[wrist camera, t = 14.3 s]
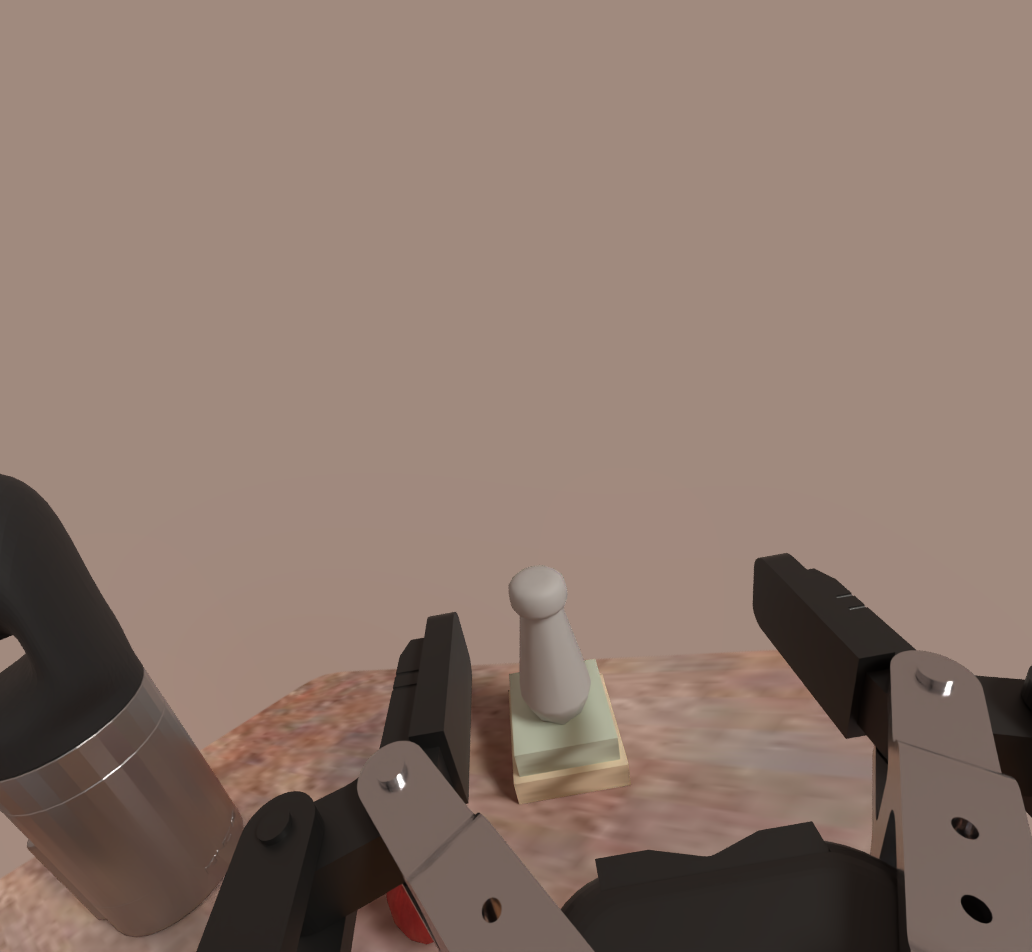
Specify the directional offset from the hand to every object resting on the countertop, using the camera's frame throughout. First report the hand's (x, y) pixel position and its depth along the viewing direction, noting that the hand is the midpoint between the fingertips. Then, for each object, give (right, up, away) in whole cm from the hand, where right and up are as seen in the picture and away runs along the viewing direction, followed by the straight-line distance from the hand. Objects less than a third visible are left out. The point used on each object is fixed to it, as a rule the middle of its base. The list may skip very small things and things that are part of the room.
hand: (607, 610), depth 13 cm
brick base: (+2, -20, +29) cm, 35 cm away
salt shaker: (+1, -16, +27) cm, 31 cm away
